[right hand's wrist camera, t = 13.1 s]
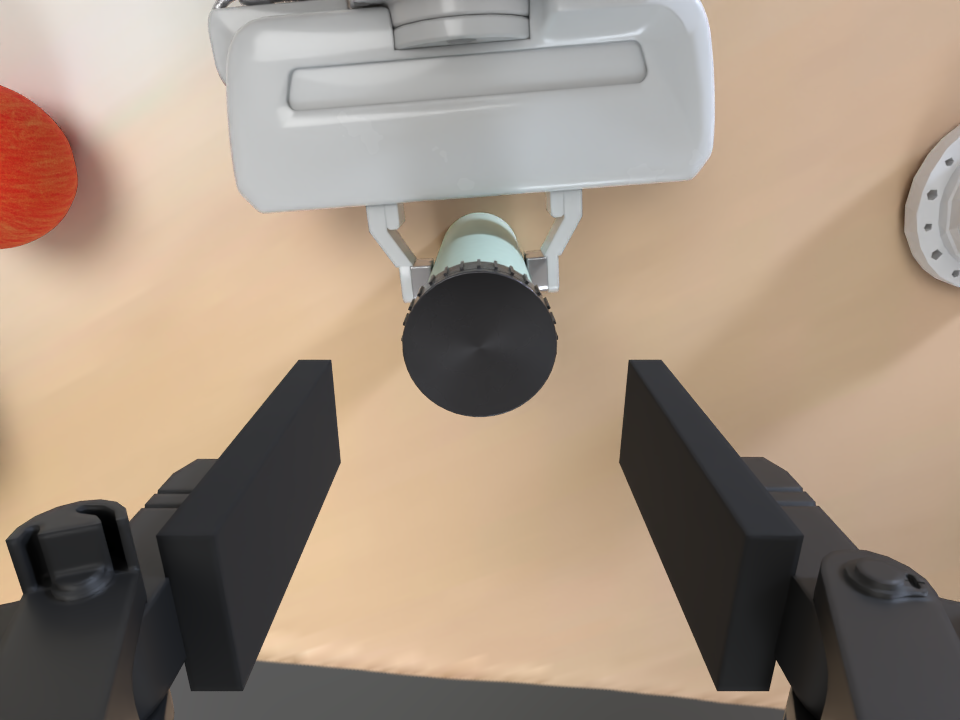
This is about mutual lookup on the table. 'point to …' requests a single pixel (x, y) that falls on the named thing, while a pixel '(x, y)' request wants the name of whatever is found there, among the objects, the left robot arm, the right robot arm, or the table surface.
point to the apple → (32, 171)
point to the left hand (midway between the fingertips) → (482, 295)
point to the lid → (479, 339)
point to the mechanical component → (937, 211)
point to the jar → (479, 243)
